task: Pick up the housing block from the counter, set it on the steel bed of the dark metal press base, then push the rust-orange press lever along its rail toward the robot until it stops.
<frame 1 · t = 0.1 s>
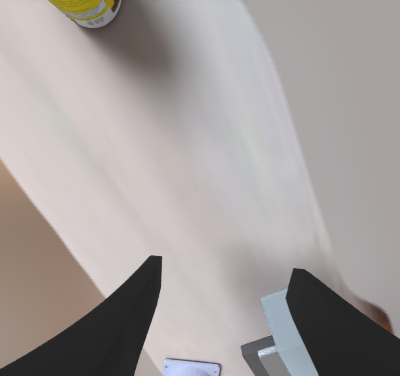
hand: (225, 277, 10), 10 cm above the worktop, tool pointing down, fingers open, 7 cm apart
housing block: (282, 306, 23), on the worktop
press base: (296, 350, 25), on the worktop
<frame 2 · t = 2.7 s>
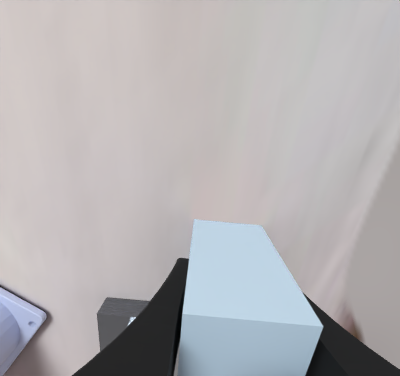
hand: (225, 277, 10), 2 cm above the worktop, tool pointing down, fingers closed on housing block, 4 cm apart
housing block: (222, 258, 12), on the worktop, touching gripper
press base: (195, 347, 14), on the worktop
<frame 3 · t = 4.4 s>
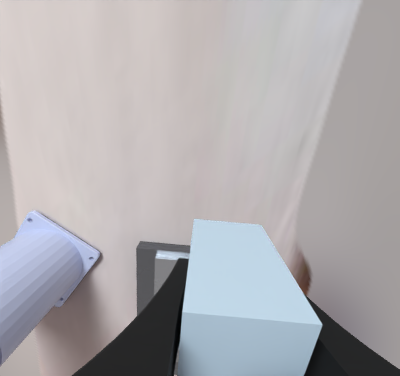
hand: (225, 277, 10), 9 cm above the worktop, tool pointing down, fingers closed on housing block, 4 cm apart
housing block: (222, 257, 12), point 7 cm above the worktop, touching gripper
press base: (198, 278, 21), on the worktop
when the fingers open (4 cm above the worktop, at t = 6.6 s): housing block stays where it is, resting on press base.
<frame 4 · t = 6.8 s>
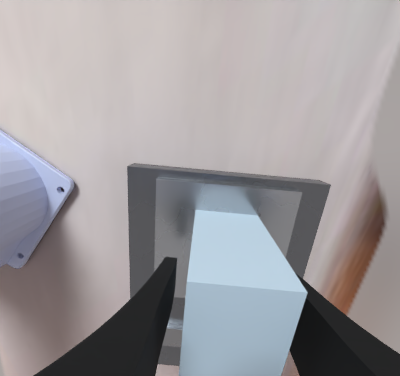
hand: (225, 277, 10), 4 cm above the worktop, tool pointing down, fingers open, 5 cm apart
housing block: (221, 246, 13), point 2 cm above the worktop, touching press base
press base: (220, 223, 14), on the worktop
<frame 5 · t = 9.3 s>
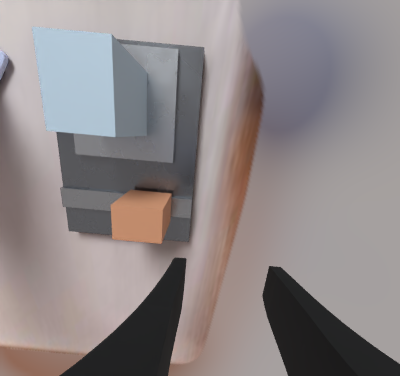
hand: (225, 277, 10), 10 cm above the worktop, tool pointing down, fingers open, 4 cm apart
housing block: (123, 103, 16), point 2 cm above the worktop, touching press base
press base: (130, 96, 17), on the worktop
press lever: (144, 214, 17), point 4 cm above the worktop, slide at 0.0 cm
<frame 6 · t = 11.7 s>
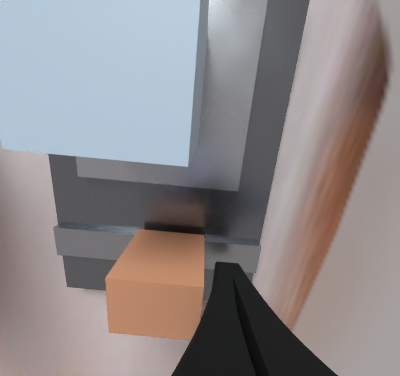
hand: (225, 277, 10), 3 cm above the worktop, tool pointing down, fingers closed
housing block: (161, 91, 9), point 2 cm above the worktop, touching press base
press base: (168, 82, 11), on the worktop
press lever: (163, 276, 10), point 4 cm above the worktop, slide at 1.6 cm, touching gripper
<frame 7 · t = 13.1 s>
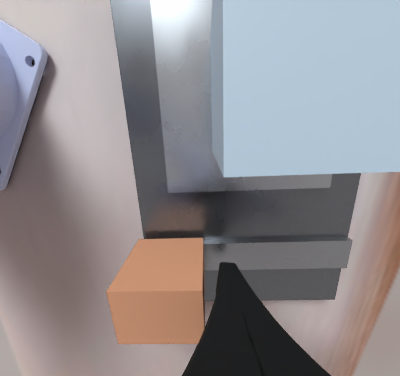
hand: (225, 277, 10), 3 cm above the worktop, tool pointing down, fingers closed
housing block: (252, 98, 9), point 2 cm above the worktop, touching press base
press base: (243, 88, 11), on the worktop
press lever: (166, 283, 10), point 4 cm above the worktop, slide at 7.1 cm, touching gripper
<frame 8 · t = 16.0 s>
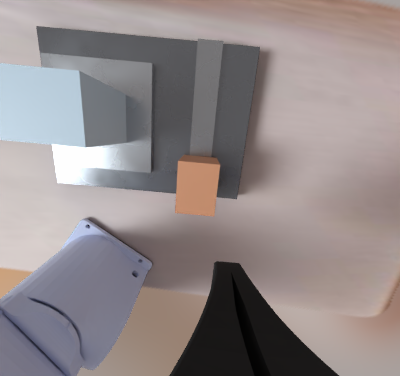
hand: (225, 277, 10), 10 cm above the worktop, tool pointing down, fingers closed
housing block: (97, 116, 16), point 2 cm above the worktop, touching press base
press base: (99, 118, 18), on the worktop
press lever: (197, 182, 16), point 4 cm above the worktop, slide at 7.0 cm
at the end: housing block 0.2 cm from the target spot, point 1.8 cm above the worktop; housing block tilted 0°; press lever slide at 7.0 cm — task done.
